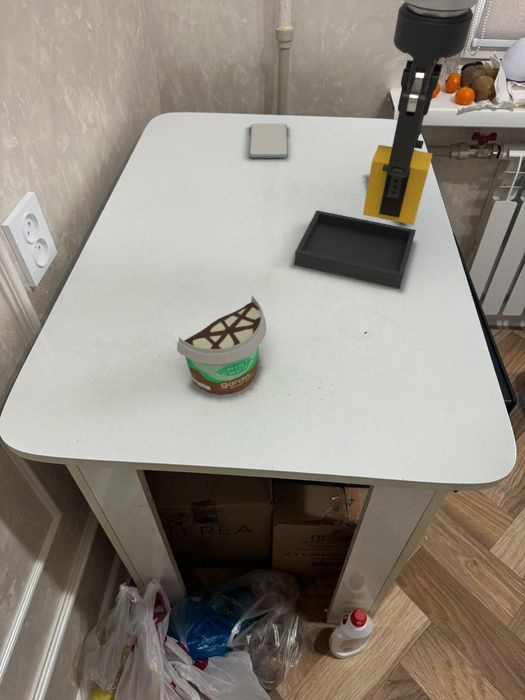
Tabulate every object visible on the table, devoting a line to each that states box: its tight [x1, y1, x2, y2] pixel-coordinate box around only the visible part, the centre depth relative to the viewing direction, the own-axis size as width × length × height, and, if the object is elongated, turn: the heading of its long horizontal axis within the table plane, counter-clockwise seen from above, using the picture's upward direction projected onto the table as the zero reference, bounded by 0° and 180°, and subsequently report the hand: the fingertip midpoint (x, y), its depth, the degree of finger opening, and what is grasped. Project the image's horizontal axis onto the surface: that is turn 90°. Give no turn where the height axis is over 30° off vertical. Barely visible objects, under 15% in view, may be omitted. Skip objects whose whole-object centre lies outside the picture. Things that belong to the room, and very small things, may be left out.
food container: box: [176, 295, 267, 396], centre depth 64 cm, size 12×6×10 cm, turn 129°
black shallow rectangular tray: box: [294, 210, 417, 290], centre depth 84 cm, size 18×13×3 cm
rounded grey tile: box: [248, 123, 289, 159], centre depth 111 cm, size 8×1×15 cm
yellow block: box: [362, 144, 433, 225], centre depth 67 cm, size 7×4×8 cm, turn 71°
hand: (392, 203), depth 69 cm, fingers closed on yellow block, 4 cm apart
